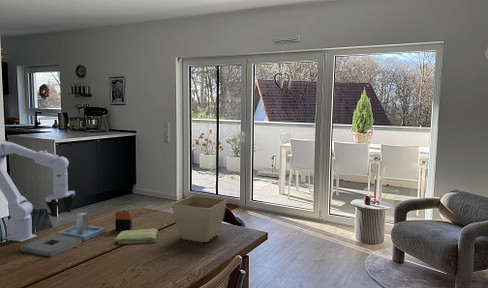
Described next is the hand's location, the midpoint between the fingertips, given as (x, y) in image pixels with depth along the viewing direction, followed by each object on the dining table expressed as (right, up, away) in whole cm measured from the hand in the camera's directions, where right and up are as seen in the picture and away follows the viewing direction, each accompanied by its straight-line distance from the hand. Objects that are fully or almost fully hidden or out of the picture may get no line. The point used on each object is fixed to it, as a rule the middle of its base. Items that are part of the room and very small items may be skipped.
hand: (61, 214), depth 165 cm
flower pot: (+61, -12, +5) cm, 63 cm away
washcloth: (+34, -12, +1) cm, 36 cm away
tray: (+7, -10, +5) cm, 13 cm away
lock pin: (+7, -10, +5) cm, 13 cm away
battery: (+24, -10, +13) cm, 29 cm away
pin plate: (+2, -12, -11) cm, 16 cm away
